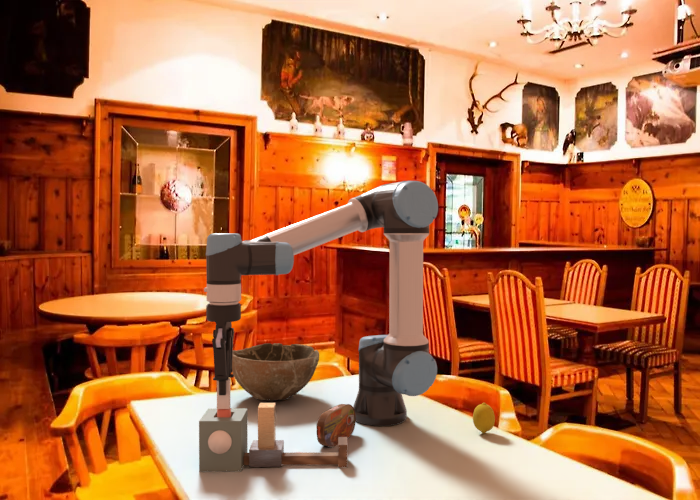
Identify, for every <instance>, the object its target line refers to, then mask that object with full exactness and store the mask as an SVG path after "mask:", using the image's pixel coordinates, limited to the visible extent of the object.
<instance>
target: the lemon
mask: <svg viewBox="0 0 700 500" xmlns="http://www.w3.org/2000/svg"><path fill="white" fill-rule="evenodd" d="M472 422H473V425H474V427H475V428H476V430H478V431H480V433H482V434H486V433H487V432H489V431H492V429H493V427H494V426H495V422H496V417H495V412H494V409H493V408H492V407H491V405H489V404H487V403H486V402H482V403H481V404H478V405H476V407H475V408H474V410H473V415H472Z"/></svg>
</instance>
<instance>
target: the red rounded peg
mask: <svg viewBox="0 0 700 500" xmlns="http://www.w3.org/2000/svg"><path fill="white" fill-rule="evenodd" d="M216 409H217V408H216ZM231 409H232V408H231V407H230V409H217V417H231Z"/></svg>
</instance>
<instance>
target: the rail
mask: <svg viewBox="0 0 700 500" xmlns="http://www.w3.org/2000/svg"><path fill="white" fill-rule="evenodd" d="M294 465H295V466H303V465H304V466H306V465H307V466H309V465H310V466H311V465H312V466H315V465H319V466H323V465H324V466H325V465H326V466H327V465H328V466H332V465H333V466H334V465H335V466H336V465H337V468H348V438H347V437H338V444H337V452H330V451H329V452H326V451H325V452H284V453H283V454H282V466H294ZM243 466H249V452H247V453H245V454H244V465H243Z"/></svg>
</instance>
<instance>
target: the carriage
mask: <svg viewBox="0 0 700 500" xmlns="http://www.w3.org/2000/svg"><path fill="white" fill-rule="evenodd" d="M276 406H277V405H276V402H259V404H258V406H257V440H256V439H253V440H252V443H251V445H250V447H249V450H248V453H249V465H248V466H249V468H253V467H254V468H255V467H256V468H258V467H259V468H260V467H261V468H262V467H263V468H264V467H265V468H267V467H270V468H271V467H275V468H276V467H278V468H279V467H280V468H281V467H282V466H283V465H282V454H283V453H285V449H284V448H285V441H284V439H276V437H277V436H276V432H277V431H276V425H277V424H276V417H277V416H276V415H277V414H276V413H277V411H276V409H277V408H276Z"/></svg>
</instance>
